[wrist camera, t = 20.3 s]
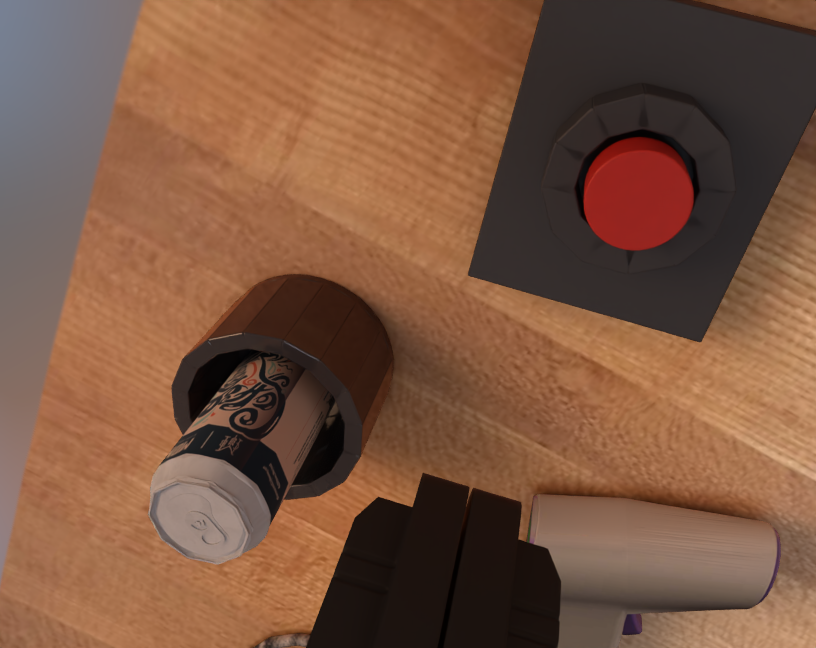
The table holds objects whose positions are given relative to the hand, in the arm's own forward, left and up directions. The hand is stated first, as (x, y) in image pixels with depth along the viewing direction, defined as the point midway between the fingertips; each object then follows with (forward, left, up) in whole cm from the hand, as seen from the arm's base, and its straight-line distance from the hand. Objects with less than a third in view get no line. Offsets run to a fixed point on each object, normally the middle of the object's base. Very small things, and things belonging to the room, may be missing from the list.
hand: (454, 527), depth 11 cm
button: (+2, +3, -19) cm, 19 cm away
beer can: (+8, -14, -22) cm, 27 cm away
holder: (+8, -14, -23) cm, 28 cm away
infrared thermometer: (+26, -1, -23) cm, 34 cm away
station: (+2, +3, -23) cm, 23 cm away
